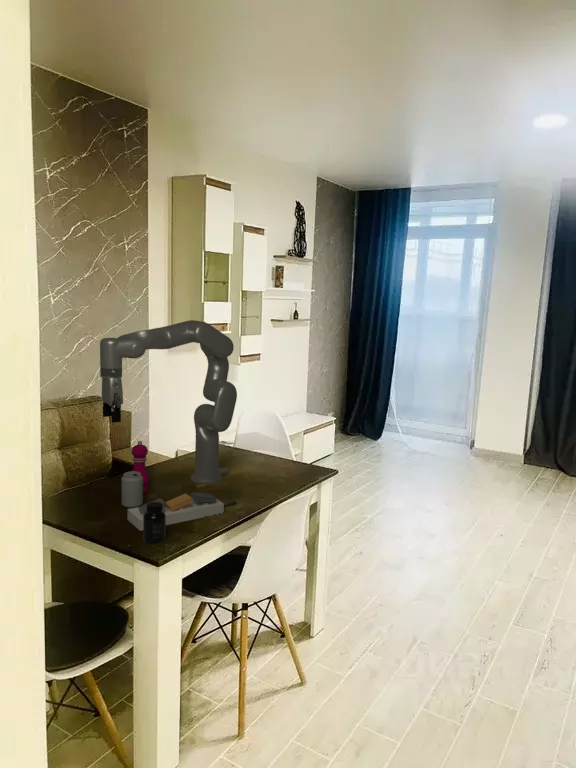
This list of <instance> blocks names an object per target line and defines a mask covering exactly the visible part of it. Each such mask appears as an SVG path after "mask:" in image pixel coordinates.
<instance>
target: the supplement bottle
mask: <svg viewBox="0 0 576 768" xmlns="http://www.w3.org/2000/svg"><path fill="white" fill-rule="evenodd" d="M150 502H151V503H149V502H147V503H148V504H147V503H146V504H147V509H146V511H147V512H146V513H145V514H144V516H143V530H142V531H143V533H142V534H143V535H142V537H143V542H144V543H145V544H149V545H155V544H156V545H157V544H161V543H163V542H165V541H166V539H167V538H166V536H167V533H166V529H167V528H166V526H167V525H166V515H165V513H164V512H163V511H162V510H163V508H162V503H160V502H152V501H150Z"/></svg>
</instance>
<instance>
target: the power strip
mask: <svg viewBox="0 0 576 768" xmlns="http://www.w3.org/2000/svg"><path fill="white" fill-rule="evenodd" d="M192 501H193V502H192V503H189V504H187V505H185V506H183V507H181V508H178V509H176V510H174V511H170V510H169V509H168V508H167V507H166V508H163V510H162V511H163V512H164V513H165V515H166V526H169V525H175V524H179V523H183V522H187V521H193V520H197V519H201V518H206V517H205V516H207V517H211V516H215V515H214V514H216V515H219V513H221V514H224V513H223V512H224V511H225V509H224V508H225V507H227V506H228V505H229V506H233V505H232V504H234V505H236V504H237V501H236V500H233V501H228V502H222V501H220V500H219V499H217V500H216V503H210V502H197V501H195V500H193V499H192ZM138 507H139V506H138ZM138 507H135V508H127V518H126V519H127V521H128V522H129V523H131V524H132V525H133V526H134V527H135V528H136V529H137V530H139V531H140V532H141V531H143V516H144V515H142V514H141V513H140V512H139V508H138ZM210 515H211V516H210Z"/></svg>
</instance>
